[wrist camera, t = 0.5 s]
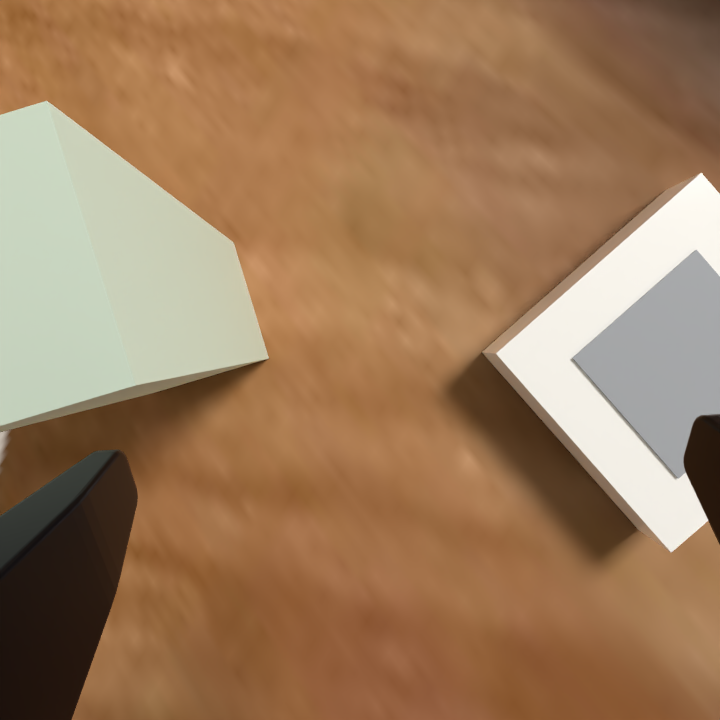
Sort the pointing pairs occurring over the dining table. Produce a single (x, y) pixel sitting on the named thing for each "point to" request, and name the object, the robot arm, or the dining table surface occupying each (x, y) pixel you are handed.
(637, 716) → the dining table surface
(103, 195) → the pillar
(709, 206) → the slab
